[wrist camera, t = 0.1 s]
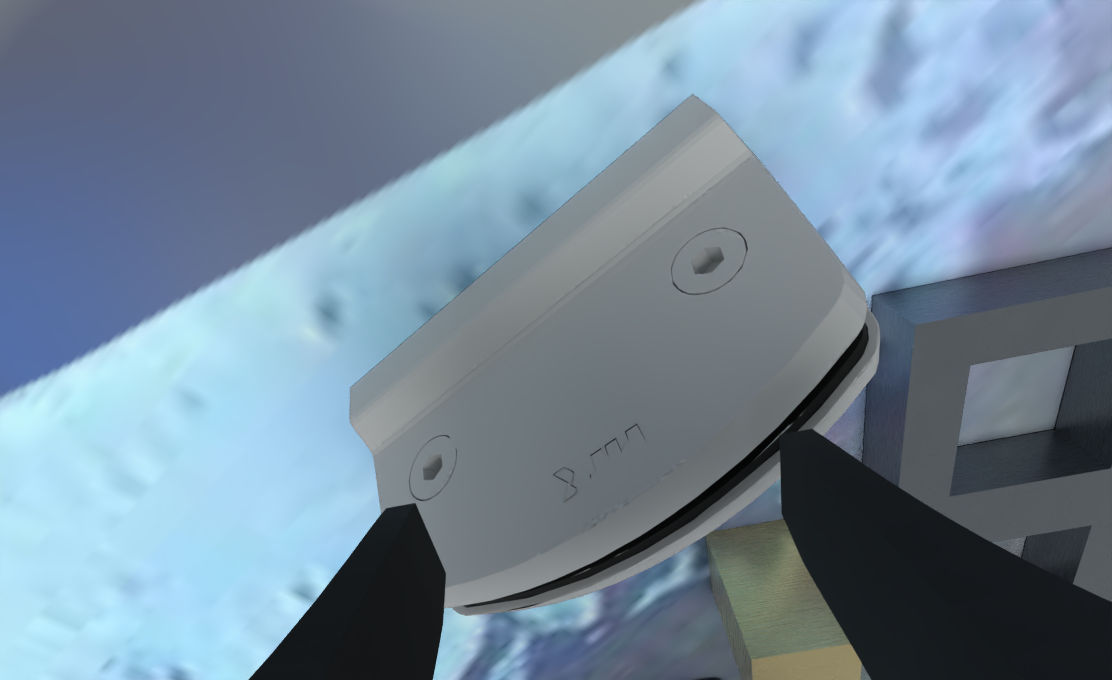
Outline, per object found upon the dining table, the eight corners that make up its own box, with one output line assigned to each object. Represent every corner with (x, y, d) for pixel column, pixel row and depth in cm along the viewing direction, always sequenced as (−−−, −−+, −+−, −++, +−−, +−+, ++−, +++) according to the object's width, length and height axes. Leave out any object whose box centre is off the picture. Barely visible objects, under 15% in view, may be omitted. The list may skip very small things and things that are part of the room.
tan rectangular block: (793, 576, 27) (858, 705, 21) (711, 590, 27) (755, 720, 21) (792, 517, 25) (863, 641, 19) (705, 532, 25) (751, 659, 20)
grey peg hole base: (1051, 593, 28) (1096, 640, 25) (852, 626, 28) (879, 673, 26) (1159, 238, 19) (1242, 260, 17) (872, 295, 20) (915, 324, 18)
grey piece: (703, 84, 17) (962, 266, 9) (759, 187, 20) (986, 384, 12) (343, 393, 21) (330, 676, 14) (433, 437, 24) (462, 688, 17)
